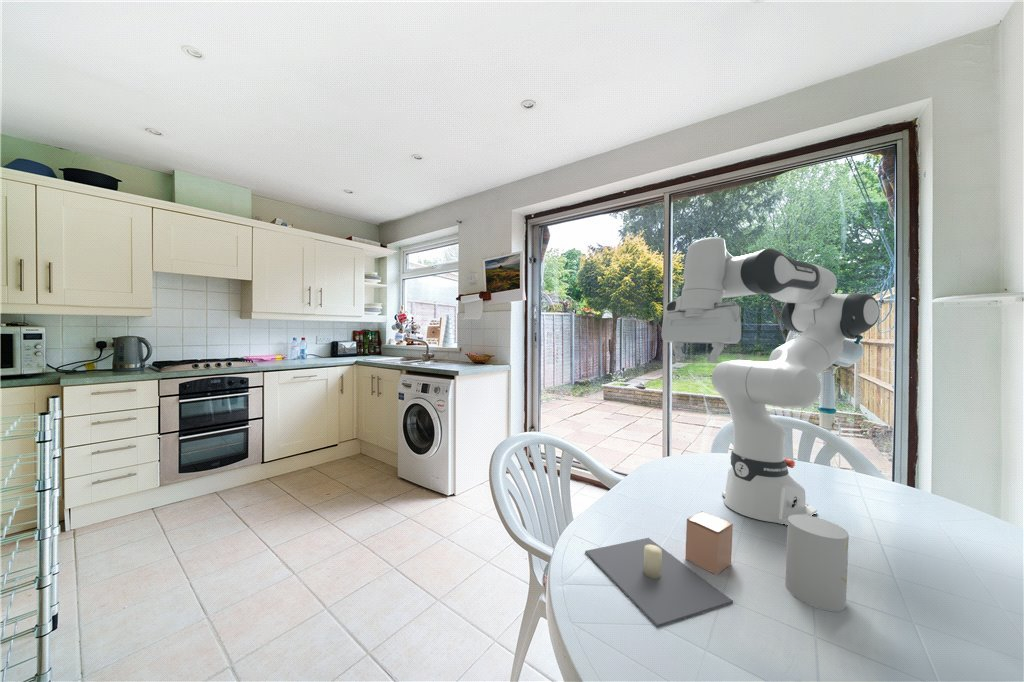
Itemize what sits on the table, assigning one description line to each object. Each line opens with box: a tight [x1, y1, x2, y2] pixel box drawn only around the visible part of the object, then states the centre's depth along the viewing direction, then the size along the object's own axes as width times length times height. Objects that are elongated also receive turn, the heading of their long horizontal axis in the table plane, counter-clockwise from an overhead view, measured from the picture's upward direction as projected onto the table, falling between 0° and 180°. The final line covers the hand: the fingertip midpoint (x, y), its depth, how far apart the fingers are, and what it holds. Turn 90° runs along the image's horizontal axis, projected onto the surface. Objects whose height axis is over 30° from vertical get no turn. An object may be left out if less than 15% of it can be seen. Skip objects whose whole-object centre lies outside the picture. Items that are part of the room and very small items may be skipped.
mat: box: [584, 537, 734, 628], centre depth 67 cm, size 16×20×5 cm
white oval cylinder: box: [784, 515, 850, 613], centre depth 64 cm, size 8×8×12 cm
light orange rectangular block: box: [684, 511, 734, 576], centre depth 72 cm, size 6×6×8 cm
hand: (694, 361), depth 87 cm, fingers open, 8 cm apart
